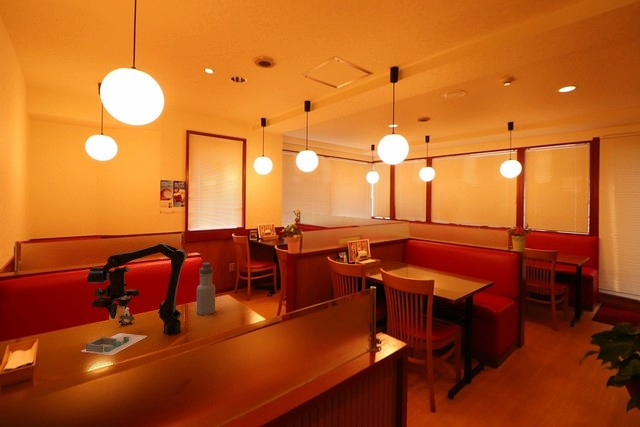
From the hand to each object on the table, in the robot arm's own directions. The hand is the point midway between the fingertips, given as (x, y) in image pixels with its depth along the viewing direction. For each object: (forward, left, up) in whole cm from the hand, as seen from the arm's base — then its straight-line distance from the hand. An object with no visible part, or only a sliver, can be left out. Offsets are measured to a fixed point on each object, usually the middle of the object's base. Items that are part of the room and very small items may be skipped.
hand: (117, 317), depth 131 cm
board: (-5, +5, -10) cm, 12 cm away
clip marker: (-7, +4, -9) cm, 12 cm away
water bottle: (-18, -40, -10) cm, 45 cm away
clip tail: (-7, +9, -9) cm, 15 cm away
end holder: (-3, +9, -9) cm, 13 cm away
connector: (-3, 0, -1) cm, 3 cm away
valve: (+12, -17, -10) cm, 23 cm away
